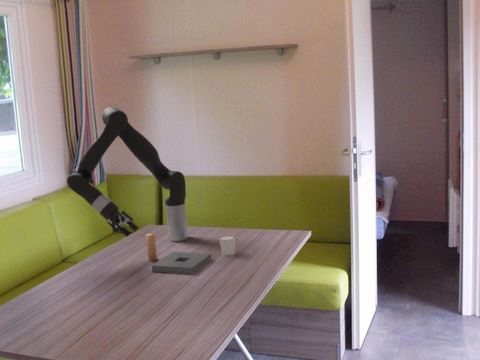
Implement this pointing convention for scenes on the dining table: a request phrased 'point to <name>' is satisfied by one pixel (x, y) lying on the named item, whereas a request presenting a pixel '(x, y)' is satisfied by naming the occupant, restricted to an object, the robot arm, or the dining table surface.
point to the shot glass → (227, 245)
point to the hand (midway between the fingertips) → (133, 232)
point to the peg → (151, 247)
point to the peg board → (181, 262)
